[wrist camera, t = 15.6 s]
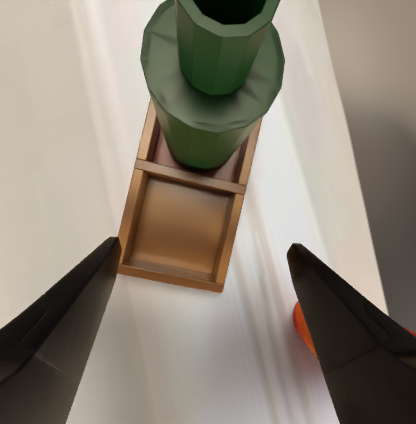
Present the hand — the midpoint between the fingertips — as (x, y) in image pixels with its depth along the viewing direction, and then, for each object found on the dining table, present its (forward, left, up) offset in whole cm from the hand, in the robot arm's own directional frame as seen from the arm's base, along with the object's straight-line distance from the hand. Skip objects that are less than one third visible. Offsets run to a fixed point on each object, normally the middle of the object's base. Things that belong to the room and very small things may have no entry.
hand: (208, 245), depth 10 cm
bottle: (+5, +7, -9) cm, 12 cm away
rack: (+2, +4, -9) cm, 10 cm away
